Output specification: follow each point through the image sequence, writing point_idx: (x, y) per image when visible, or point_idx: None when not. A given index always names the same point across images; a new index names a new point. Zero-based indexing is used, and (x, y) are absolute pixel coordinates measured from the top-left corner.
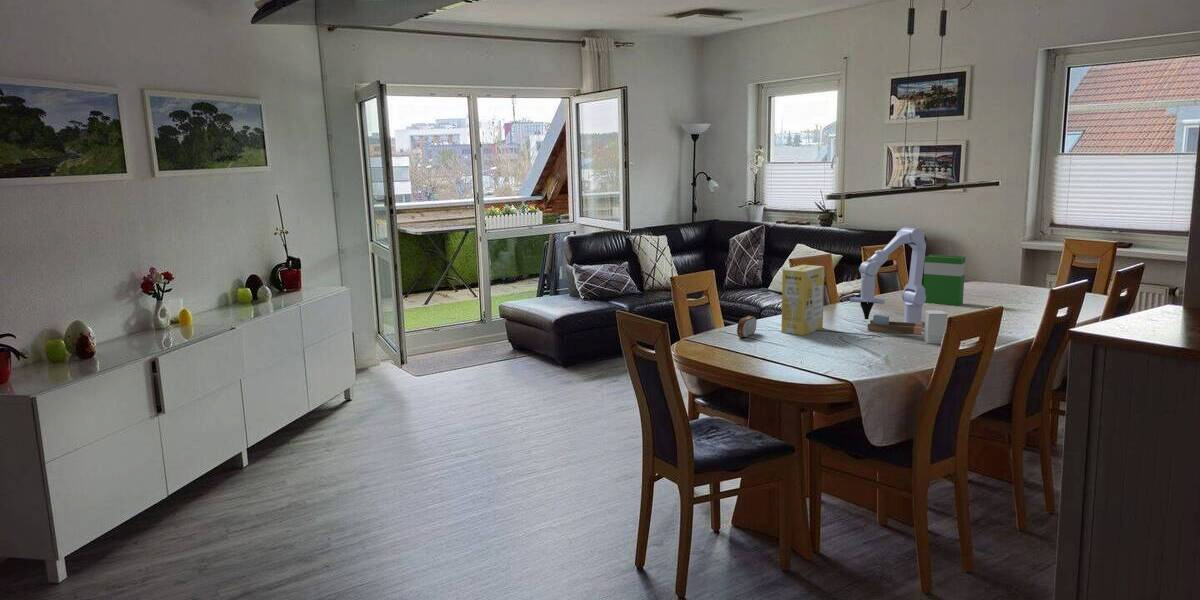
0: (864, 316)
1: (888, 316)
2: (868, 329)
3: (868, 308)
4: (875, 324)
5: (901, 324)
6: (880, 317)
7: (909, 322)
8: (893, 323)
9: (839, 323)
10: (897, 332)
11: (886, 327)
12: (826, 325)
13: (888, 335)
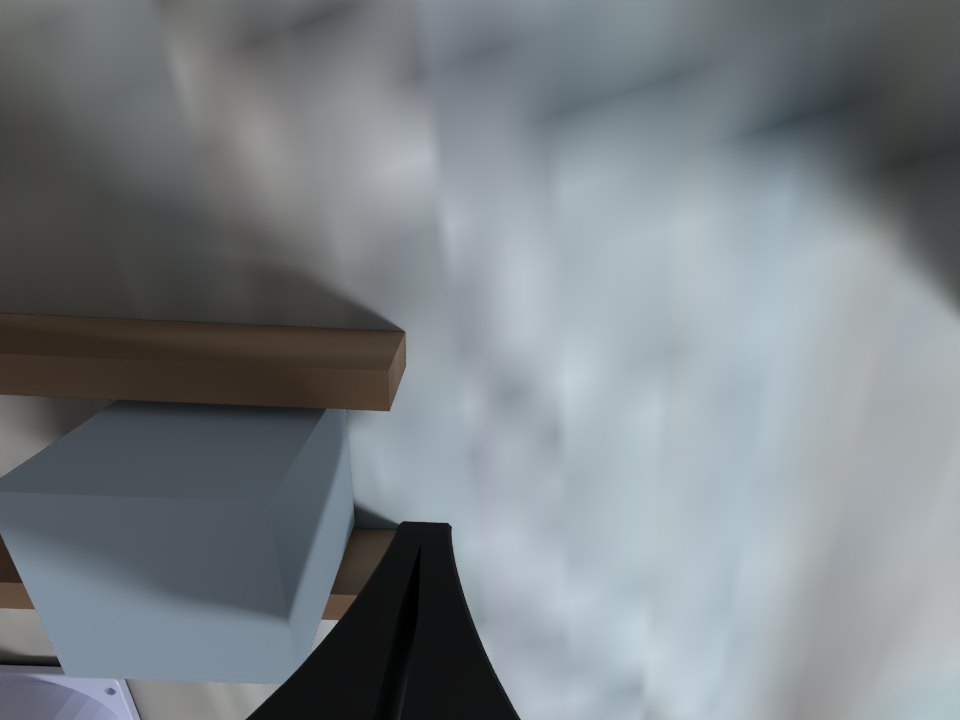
0: (452, 554)
1: (41, 600)
2: (389, 338)
3: (332, 703)
4: (269, 387)
5: (10, 561)
6: (129, 492)
7: (38, 701)
8: None
9: (736, 604)
10: (1, 315)
11: (107, 344)
12: (906, 492)
13: (52, 111)
